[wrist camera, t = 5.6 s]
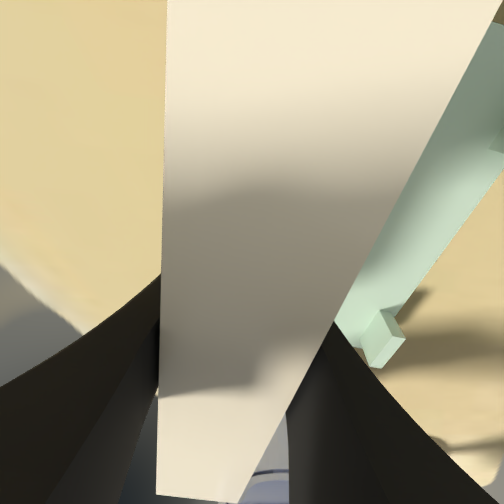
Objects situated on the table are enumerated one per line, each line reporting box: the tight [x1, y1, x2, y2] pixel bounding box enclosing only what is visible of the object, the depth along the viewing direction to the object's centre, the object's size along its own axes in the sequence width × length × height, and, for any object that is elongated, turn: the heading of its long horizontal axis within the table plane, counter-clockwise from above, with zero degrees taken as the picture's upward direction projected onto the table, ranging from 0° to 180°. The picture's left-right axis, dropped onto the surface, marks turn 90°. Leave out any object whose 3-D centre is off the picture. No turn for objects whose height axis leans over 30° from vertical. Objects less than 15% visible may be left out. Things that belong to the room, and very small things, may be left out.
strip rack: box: [334, 22, 504, 369], centre depth 16 cm, size 21×8×4 cm, turn 167°
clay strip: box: [156, 0, 503, 504], centre depth 9 cm, size 18×4×4 cm, turn 169°
